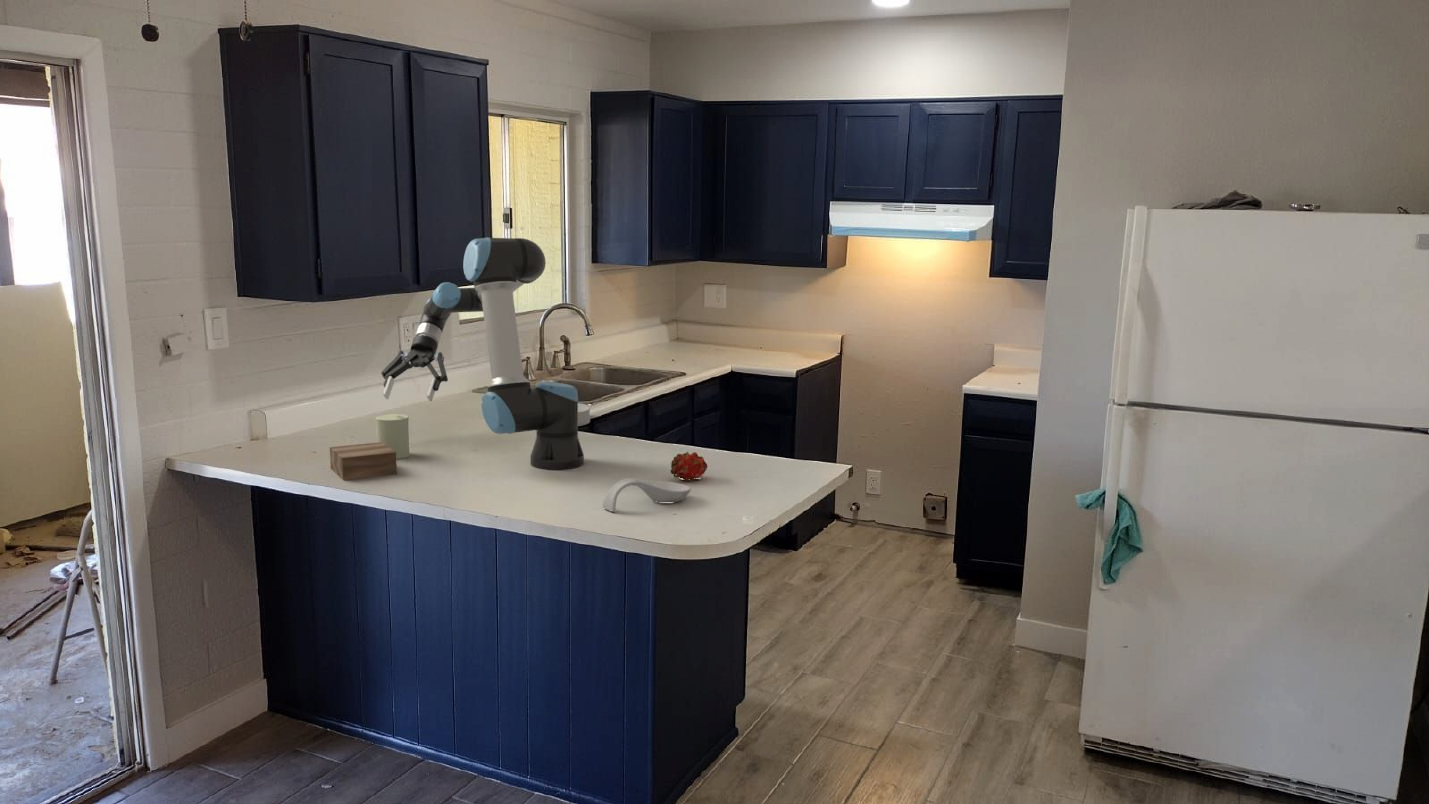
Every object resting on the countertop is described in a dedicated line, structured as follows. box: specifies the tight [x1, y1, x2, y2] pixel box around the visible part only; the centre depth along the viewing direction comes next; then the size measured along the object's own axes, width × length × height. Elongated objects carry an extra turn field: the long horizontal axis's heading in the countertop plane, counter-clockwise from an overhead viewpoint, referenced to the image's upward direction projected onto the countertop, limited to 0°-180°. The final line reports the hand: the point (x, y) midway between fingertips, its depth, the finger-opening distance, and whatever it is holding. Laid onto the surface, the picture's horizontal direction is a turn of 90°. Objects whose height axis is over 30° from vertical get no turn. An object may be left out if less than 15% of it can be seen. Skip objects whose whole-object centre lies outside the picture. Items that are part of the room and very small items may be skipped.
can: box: [375, 413, 411, 460], centre depth 294 cm, size 9×9×12 cm
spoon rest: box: [602, 477, 692, 512], centre depth 252 cm, size 24×12×7 cm, turn 130°
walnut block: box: [329, 442, 398, 481], centre depth 277 cm, size 14×14×6 cm
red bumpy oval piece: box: [670, 451, 708, 481], centre depth 276 cm, size 8×8×12 cm
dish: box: [578, 402, 591, 427], centre depth 350 cm, size 22×22×5 cm
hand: (407, 397), depth 303 cm, fingers open, 13 cm apart
